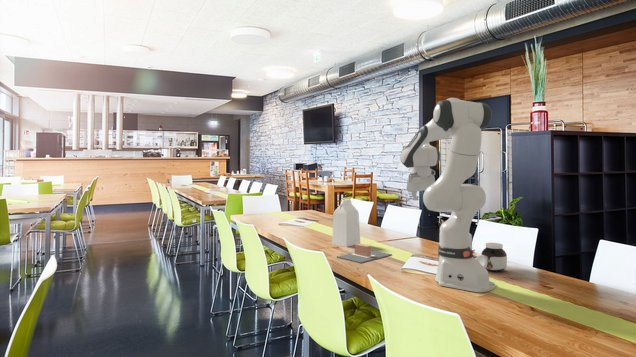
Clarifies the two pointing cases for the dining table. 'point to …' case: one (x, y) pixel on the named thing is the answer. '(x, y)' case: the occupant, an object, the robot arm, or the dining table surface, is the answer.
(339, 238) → the milk
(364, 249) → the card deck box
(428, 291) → the dining table surface
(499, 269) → the spread jar
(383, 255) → the charcoal mat
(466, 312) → the dining table surface
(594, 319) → the dining table surface
